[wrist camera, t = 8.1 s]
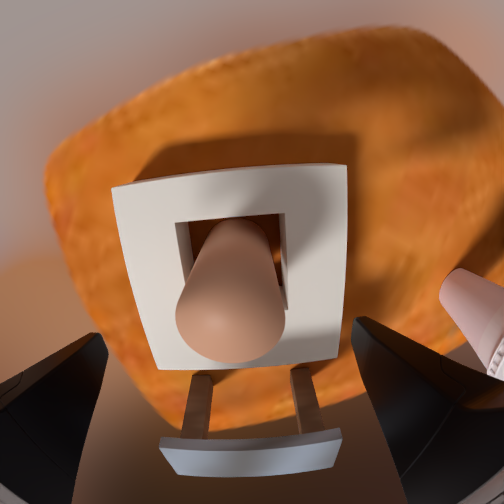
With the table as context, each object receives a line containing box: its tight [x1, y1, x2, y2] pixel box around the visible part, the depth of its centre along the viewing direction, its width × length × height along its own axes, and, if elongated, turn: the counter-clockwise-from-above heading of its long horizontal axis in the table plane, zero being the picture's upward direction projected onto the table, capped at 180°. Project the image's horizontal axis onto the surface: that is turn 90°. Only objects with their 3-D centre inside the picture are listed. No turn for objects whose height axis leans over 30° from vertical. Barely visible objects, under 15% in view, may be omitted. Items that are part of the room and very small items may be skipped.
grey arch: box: [159, 368, 342, 477], centre depth 17 cm, size 10×4×9 cm, turn 94°
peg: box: [175, 218, 286, 363], centre depth 14 cm, size 4×4×8 cm
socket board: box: [111, 163, 347, 370], centre depth 16 cm, size 12×12×3 cm
